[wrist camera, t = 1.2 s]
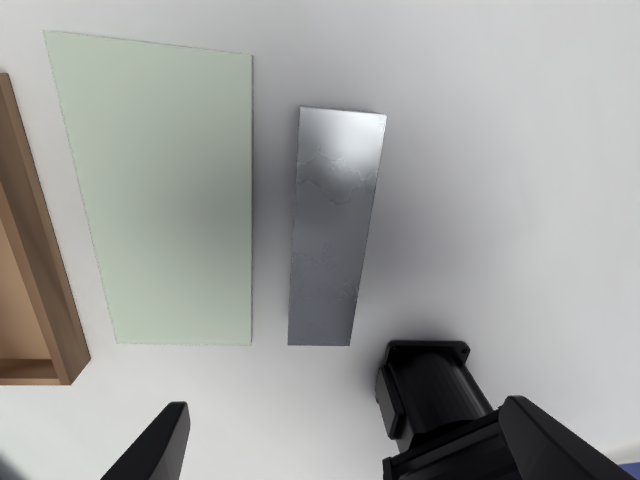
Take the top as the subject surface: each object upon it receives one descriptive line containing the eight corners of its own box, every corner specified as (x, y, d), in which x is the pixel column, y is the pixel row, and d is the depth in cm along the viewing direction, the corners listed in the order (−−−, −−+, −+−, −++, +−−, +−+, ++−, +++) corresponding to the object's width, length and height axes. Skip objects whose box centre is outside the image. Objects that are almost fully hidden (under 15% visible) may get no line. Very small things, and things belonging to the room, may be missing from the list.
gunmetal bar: (372, 111, 17) (387, 115, 14) (343, 316, 23) (349, 345, 20) (299, 105, 16) (300, 107, 14) (288, 314, 22) (287, 345, 20)
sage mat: (252, 56, 15) (251, 54, 14) (251, 339, 23) (250, 345, 22) (52, 32, 14) (42, 30, 14) (120, 337, 22) (116, 343, 21)
